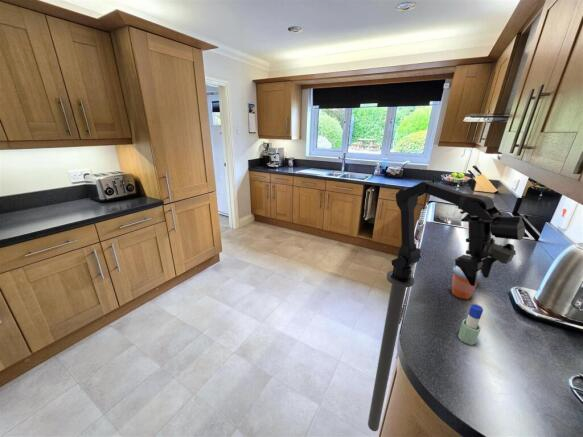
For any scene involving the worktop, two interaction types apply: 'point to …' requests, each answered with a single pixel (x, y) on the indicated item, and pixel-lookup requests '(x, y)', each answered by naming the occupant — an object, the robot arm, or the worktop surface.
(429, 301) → the worktop surface
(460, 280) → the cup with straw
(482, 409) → the worktop surface
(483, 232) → the robot arm
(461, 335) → the glass
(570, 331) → the worktop surface
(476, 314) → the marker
